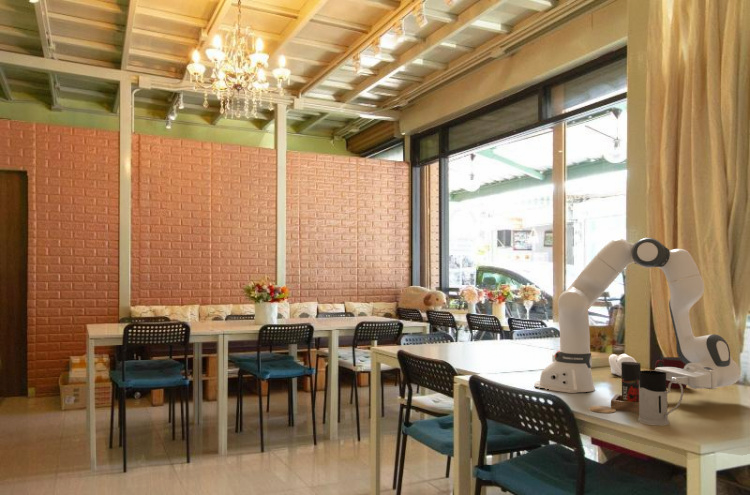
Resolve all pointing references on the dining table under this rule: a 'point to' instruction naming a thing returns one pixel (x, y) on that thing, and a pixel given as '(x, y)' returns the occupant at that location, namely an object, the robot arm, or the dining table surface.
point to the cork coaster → (602, 409)
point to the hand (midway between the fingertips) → (662, 377)
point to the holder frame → (624, 404)
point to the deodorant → (630, 381)
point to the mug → (672, 362)
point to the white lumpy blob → (619, 362)
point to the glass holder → (654, 397)
